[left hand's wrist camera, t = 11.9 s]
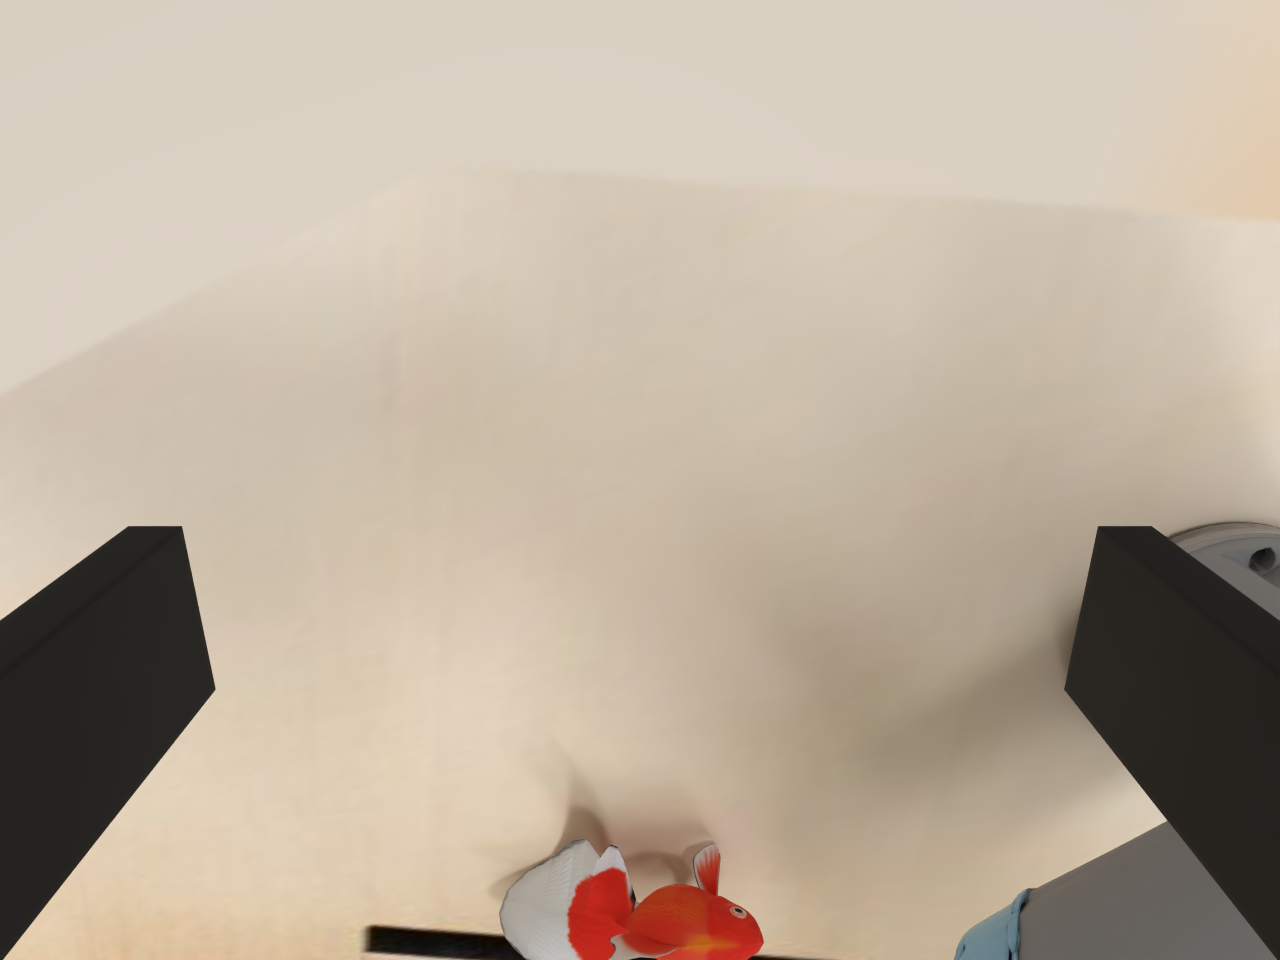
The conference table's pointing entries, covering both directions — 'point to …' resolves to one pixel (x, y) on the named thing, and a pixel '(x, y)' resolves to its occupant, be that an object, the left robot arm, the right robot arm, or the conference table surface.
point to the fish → (623, 912)
